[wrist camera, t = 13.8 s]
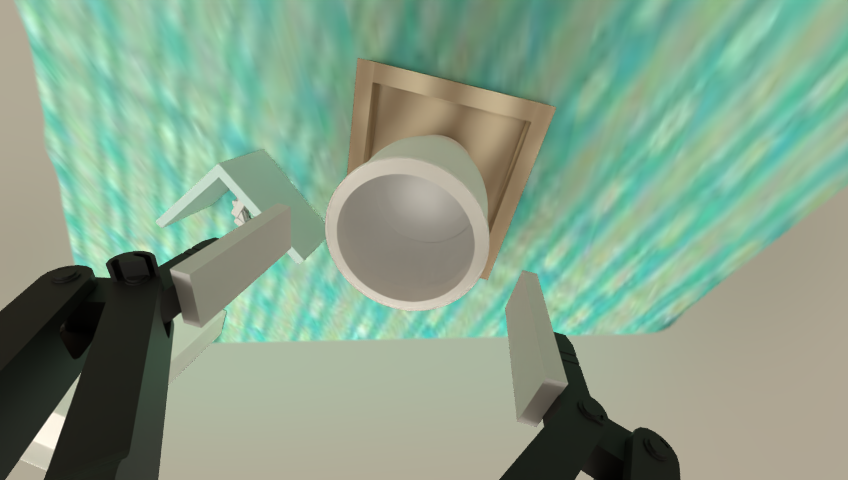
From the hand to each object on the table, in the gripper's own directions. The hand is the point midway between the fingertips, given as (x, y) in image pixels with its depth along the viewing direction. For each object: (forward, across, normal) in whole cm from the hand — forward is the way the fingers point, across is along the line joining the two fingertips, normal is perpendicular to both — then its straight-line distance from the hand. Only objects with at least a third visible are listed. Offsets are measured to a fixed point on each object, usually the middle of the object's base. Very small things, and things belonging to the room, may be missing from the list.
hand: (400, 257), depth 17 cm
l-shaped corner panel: (+18, -20, -11) cm, 29 cm away
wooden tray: (+18, 0, 0) cm, 18 cm away
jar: (+17, 0, 0) cm, 17 cm away
